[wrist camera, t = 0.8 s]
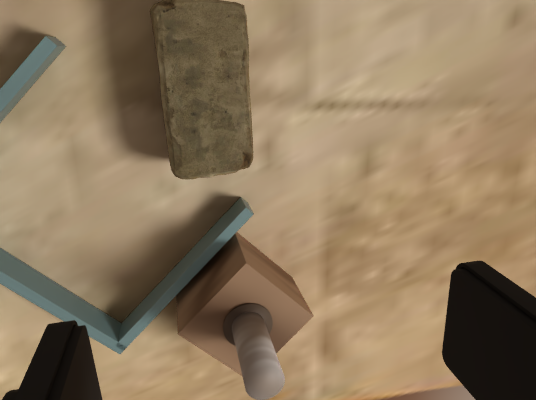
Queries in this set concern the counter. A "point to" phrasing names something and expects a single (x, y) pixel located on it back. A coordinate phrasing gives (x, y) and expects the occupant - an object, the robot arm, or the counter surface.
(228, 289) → the block with knob
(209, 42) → the stone block
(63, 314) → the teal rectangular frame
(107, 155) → the counter surface
